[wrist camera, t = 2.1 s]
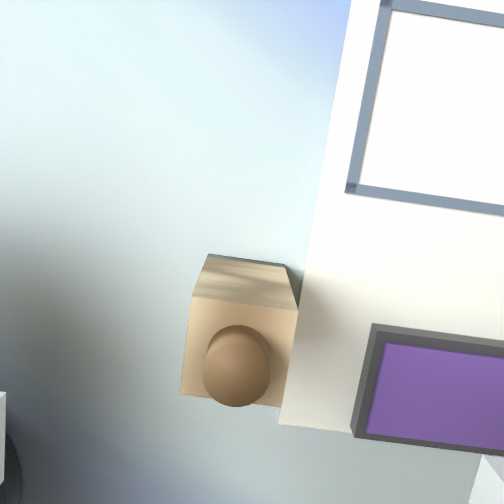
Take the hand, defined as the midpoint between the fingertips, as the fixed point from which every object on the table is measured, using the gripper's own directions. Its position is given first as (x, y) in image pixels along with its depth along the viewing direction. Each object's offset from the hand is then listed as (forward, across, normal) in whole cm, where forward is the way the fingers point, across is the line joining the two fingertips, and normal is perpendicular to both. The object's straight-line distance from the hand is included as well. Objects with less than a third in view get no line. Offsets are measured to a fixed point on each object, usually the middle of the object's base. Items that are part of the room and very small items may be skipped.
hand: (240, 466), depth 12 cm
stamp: (+15, 0, 0) cm, 15 cm away
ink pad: (+15, +13, -4) cm, 20 cm away
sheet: (+15, +12, +5) cm, 20 cm away
